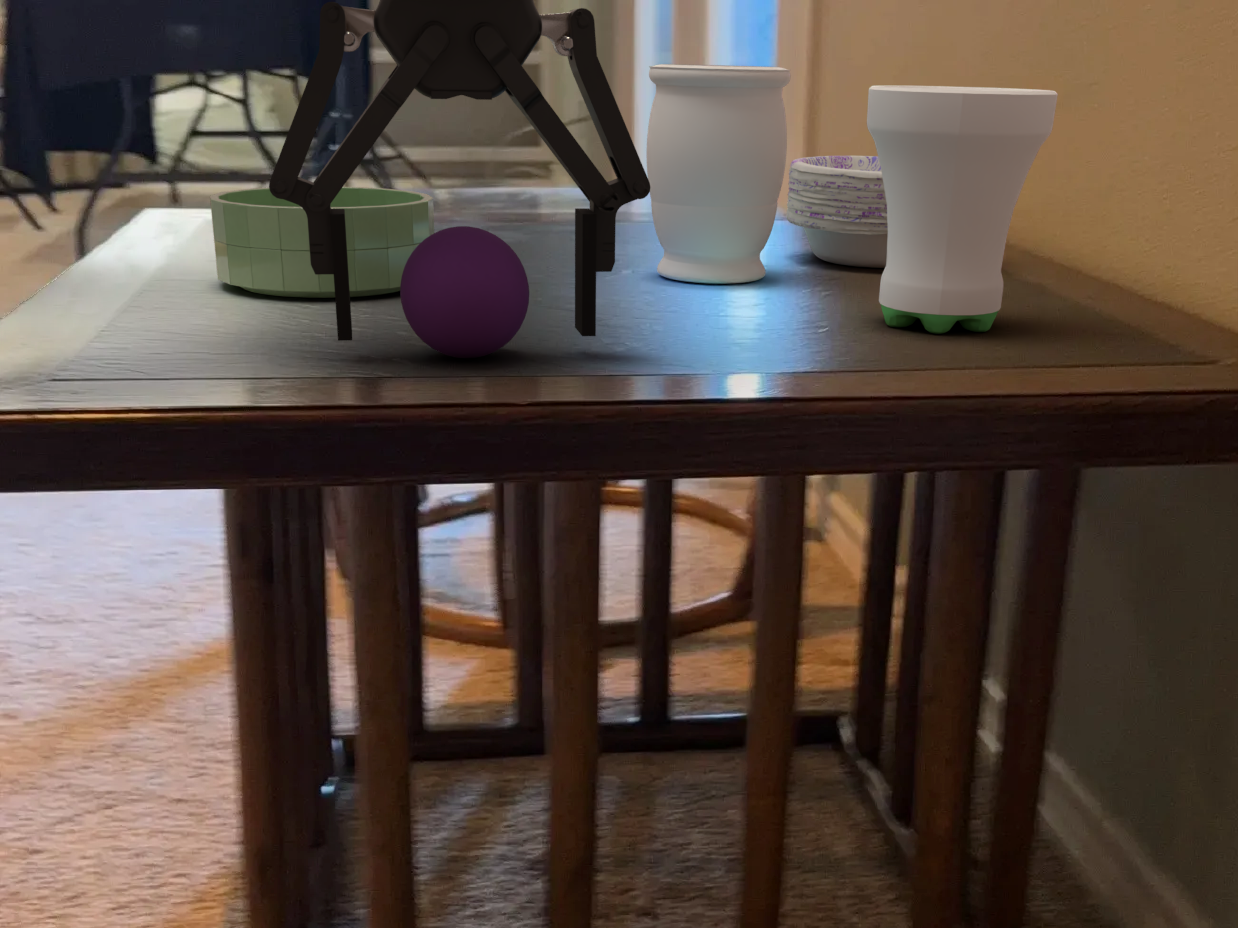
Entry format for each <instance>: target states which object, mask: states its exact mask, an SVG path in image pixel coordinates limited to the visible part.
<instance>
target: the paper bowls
mask: <svg viewBox="0 0 1238 928" xmlns="http://www.w3.org/2000/svg"><path fill="white" fill-rule="evenodd" d="M786 207H787V209H786V220H787V221H788V223H790V224H792V225H795V226H797V227H802V228H803V230H804V232H805V236H806V239H807V242H808V244H809V247H810V249H811V251H812V253H813V254H814V255H815V256H816V257H817V258H818V259H820V260H822V261H825V262H827V263H832V264H836V265H842V266H847V267H848V266H849V267H857V268H870V269H871V268H874V269H875V268H876V269H885V267H886V261H887V239H888V223H887V202H886V196H885V190H884V184H883V178H882V172H881V166H880V162H879V158H878V155H817V156H806V157H798V158H795V159H793V160H791V162H790V164H789V169H788V192H787V203H786Z"/></svg>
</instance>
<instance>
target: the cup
mask: <svg viewBox="0 0 1238 928" xmlns="http://www.w3.org/2000/svg"><path fill="white" fill-rule="evenodd" d="M1058 96H1059V94H1058V92H1056V90H1052V89H1034V88H1014V87H1013V88H1012V87H1011V88H1009V87H988V86H987V87H983V86H951V85H950V86H947V85H899V84H897V85H893V84H892V85H891V84H890V85H886V84H885V85H884V84H883V85H879V84H877V85H871V86H869V88H868V95H867V110H866V111H867V112H866V127H867V130H868V132H869V134H870V136H871V138H872V140H873V141H874V145H875V151H876V154H877V156H878V158H879V162H880V166H881V172H882V178H883V184H884V190H885V196H886V202H887V223H888V239H887V261H886V267H885V268H883V271H882V273H881V277H880V281H879V282H880V285H879V293H878V303H879V304H880V307H881V311H882V314H883V315H882V316H883V318H884V322H885V324H886V325H887V326H889V327H891V328H907V327H909V326H911V325H913V324H914V323H915V322H916V321H917V320H918V319H919V320H920V322H921V324H922V326H923V327H924V329H925V330H926V331H927V332H929V333H930V334H935V335H942V334H945V333H947V332H950V331H951V329H952V328H953V327H954V325H955V324H956V323H957V322H959V325H961V327H962V328H963V329H965V330H966V331H969V332H975V333H985V332H988V331H989V330H990V329H991V327H992V325H993V323H994V321H995V319H996V318H997V316H998V314H999V311H1000V310H1001V308H1002V301H1003V294H1004V278H1003V275H1002V274H1003V273H1002V267H1003V261H1004V256H1005V255H1004V254H1005V250H1006V244H1007V243H1006V242H1007V237H1008V234H1009V230H1010V226H1011V222H1012V217H1013V215H1014V210H1015V207H1016V205H1017V203H1018V199H1019V197H1020V195H1021V192H1022V190H1023V187H1024V184H1025V182H1026V179H1027V177H1028V175H1029V171H1030V170H1031V167H1032V166H1033V163H1034V162H1035V159H1036V157H1037V155H1038V153H1039V151H1040V149H1041V147H1042V146H1043V145H1044V144H1045V142H1046V141H1047V140H1048V138H1049V137H1050V135H1051V134H1052V131H1053V129H1054V128H1053V127H1054V121H1055V115H1056V109H1057V102H1058Z"/></svg>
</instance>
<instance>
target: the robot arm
mask: <svg viewBox="0 0 1238 928" xmlns="http://www.w3.org/2000/svg"><path fill="white" fill-rule="evenodd" d="M372 32H373V33H375V35H376V37H377V38H378V41H380V43H381V44H382V46H383V47H384V49H385V50H386V51H387V53H388V54H389V55H390V57H391V58H392V60H393V61H394V62H395V64H396V66H395V67H394V69H392V71H391V73H390V74H389V75H388V77H387V78H386V79H385V81H384V82H383V84H382V85H381V87H380V89H379V90H378V91H377V92H376V94H375V95H374V97H373V98H372V100H371V101H370V102H369V104H368V105H367V106H366V108H365V110H364V111H363V112H362V113H361V115H360V116H359V118H358V119H357V121H356V122H355V123H354V125H353V126H352V128H351V129H350V130H349V132H348V133H347V134H346V136H345V138H344V139H343V140H342V141H341V143H340V144H339V146H338V147H337V149H336V150H335V152H334V153H333V154H332V156H331V157H330V158H329V159H328V161H327V163H326V164H325V165H324V167H323V168H322V170H321V171H320V173H319V174H318V175H317V177H316V178H315V179H314V181H311V180H308V179H306V178H302V177H300V173H301V170H302V168H303V166H304V163H305V160H306V157H307V155H308V153H309V150H310V147H311V145H312V142H313V140H314V137H315V134H316V132H317V129H318V126H319V124H320V121H321V118H322V116H323V113H324V111H325V108H326V105H327V104H328V101H329V97H330V95H331V93H332V90H333V87H334V85H335V82H336V79H337V77H338V75H339V72H340V69H341V65H342V63H343V59H344V54H345V53H353V52H355V51H357V50H358V49H359V47H360V46H361V42H362V39H363V37H364V36H365V35H366V34H368V33H372ZM541 37H545V38H547V39H548V40H549V41H550V42H551V44H552V47H553V50H554V52H555V53H556V54H557V55H559V56H561V57H567V61H568V64H569V67H570V70H571V74H572V75H573V79H574V81H575V83H576V85H577V87H578V90H579V93H580V94H581V97H582V99H583V101H584V104H585V106H586V109H587V111H588V113H589V116H590V118H591V120H592V123H593V125H594V128H595V130H596V132H597V135H598V138H599V139H600V142H601V144H602V146H603V149H604V152H605V153H606V156H607V158H608V161H609V163H610V165H611V167H612V170H613V172H614V174H615V175H614V176H615V177H616V178H614V179H611V180H609V181H607V180H606V178H605V177H604V175H602V174H601V172H600V170H599V169H598V168H597V166H596V165H595V164H594V162H593V161H592V159H590V157H589V156H588V154H587V153H586V152H585V150H584V149H583V148H582V146H581V145H580V143H579V142H578V141H577V139H576V138H575V137H574V136H573V134H572V133H571V132H570V130H569V129H568V128H567V126H566V125H565V124H564V122H563V121H562V119H561V118H560V117H559V115H558V114H557V113H556V111H555V109H554V108H553V107H552V106H551V104H550V103H549V102H548V101H547V99H546V98H545V97H544V95H543V94H542V91H541V90H540V89H539V87H538V86H537V84H536V83H535V82H534V80H533V79H532V78H531V76H530V75H529V73H528V72H527V71H526V70H525V68H524V67H523V65H524V64H525V62H526V60H527V59H528V57H529V56H530V54H531V53H532V51H534V49H535V47H536V45H537V44H538V43H539V41H540V39H541ZM596 37H597V36H596V25H595V18H594V15H593V13H592V11H591V10H589V9H587V8H584V7H581V8H574V9H571V10H569V11H568V12H557V13H541V14H540V13H539V11H538V9H537V7H536V5H535V2H534V0H379V2H378V5H377V7H376V8H375V9H367V8H366V9H365V8H358V7H349V6H343V5H340V4H339V2H335V1H327V2H325V3H324V4H322V6H321V8H320V13H319V42H318V43H319V44H318V45H319V47H318V52H317V55H316V58H315V60H314V64H313V66H312V67H311V71H310V73H309V77H308V79H307V82H306V84H305V87H304V90H303V92H302V95H301V98H300V100H299V103H298V105H297V108H296V111H295V113H294V116H293V118H292V121H291V124H290V127H289V129H288V132H287V135H286V137H285V140H284V143H283V145H282V147H281V151H280V153H279V156H278V158H277V161H276V163H275V167H274V168H273V172H272V174H271V176H270V180H269V183H268V188H269V189H270V192H271V193H272V195H273V196H275V197H276V198H279V199H284V200H286V201H289V202H292V203H295V204H297V205H299V206H301V207H302V208H303V209H304V211H305V212H306V215H307V219H308V233H309V247H310V261H311V266H312V268H313V271H314V273H315V274H334V287H335V298H334V300H335V303H334V304H335V317H336V318H335V319H336V330H337V341H338V342H342V341H353V325H352V324H353V323H352V311H351V310H352V309H351V308H352V307H351V297H350V290H349V273H348V257H347V241H346V224H345V209H331V202H332V201H333V200H334V198H335V197H336V196H337V194H338V193H339V191H340V190H341V189H342V187H345V185H346V183H347V182H348V180H349V179H350V178H351V176H352V175H353V173H354V172H355V171H356V169H357V168H358V167H359V165H360V164H361V162H363V160H364V158H365V157H366V155H367V154H368V152H369V151H370V150H371V148H372V147H373V146H374V145H375V143H376V142H377V140H378V139H379V138H380V136H381V135H382V134H383V132H384V130H385V129H386V128H387V127H388V125H389V123H390V122H391V121H392V119H394V117H395V115H396V114H397V112H399V110H400V109H401V107H403V105H404V104H405V102H406V101H407V100H408V99H409V97H410V96H411V94H412V93H413V91H414V90H416V92H418V93H419V94H421V95H422V96H425V97H427V98H429V99H431V100H448V99H452V98H455V97H456V98H457V97H459V96H464V97H467V98H470V99H475V100H478V101H479V100H482V101H483V100H485V101H486V100H487V101H489V100H491V101H492V100H493V99H494V98H497V97H499V96H501V95H502V94H504V92H505V93H506V94H507V96H508V97H509V98H510V100H511V101H512V102H513V104H515V106H516V107H517V108H518V109H519V111H520V112H521V113H522V114H523V116H524V117H525V119H526V120H527V121H528V123H529V124H530V125H531V126H532V127H533V129H534V130H535V132H536V133H537V135H538V136H539V137H540V139H541V140H542V141H543V142H544V144H545V145H546V147H547V148H548V149H549V150H550V152H551V153H552V154H553V155H554V157H555V158H556V160H557V161H558V162H559V163H560V165H561V166H562V167H563V169H564V170H565V171H566V173H567V174H568V176H570V178H571V179H572V180H573V182H574V183H575V185H576V186H577V188H578V189H579V190H580V191H581V193H582V194H583V196H585V198H586V199H587V200H588V202H589V208H588V207H587V208H585V207H584V208H574V329H576V331H577V332H578V333H579V335H580V336H582V337H596V336H597V334H596V333H597V273H612V271H613V269H614V266H615V264H616V222H617V221H616V217H617V214H618V212H619V210H620V208H621V207H622V206H624V205H626V204H628V203H631V202H634V201H637V200H643V199H645V198H647V197H648V195H650V183H649V180H648V174H647V172H646V171H645V168H644V166H643V163H642V161H641V158H640V156H639V153H638V151H637V149H636V147H635V144H634V142H633V139H632V137H631V134H630V132H629V130H628V127H627V125H626V122H625V120H624V118H623V115H622V113H621V110H620V108H619V106H618V103H617V101H616V98H615V96H614V93H613V91H612V89H611V86H610V83H609V82H608V81H609V80H608V79H607V77H606V75H605V74H606V73H605V71H604V69H603V66H602V65H601V62H600V60H599V57H598V54H597V53H598V52H597V40H596V39H597V38H596ZM344 52H345V53H344Z"/></svg>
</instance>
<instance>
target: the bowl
mask: <svg viewBox="0 0 1238 928" xmlns="http://www.w3.org/2000/svg"><path fill="white" fill-rule="evenodd" d="M209 202H210V213H211V223H212V224H211V225H212V235H213V245H214V256H215V257H214V258H215V266H216V275H217V276H216V277H217V280H218V281H220V282H223V283H225V284H227V285H229V286H235V287H239V288H241V289H243V290H244V291H247V292H250V293H254V294H259V295H260V294H261V295H267V296H274V297H285V298H286V297H288V298H305V299H307V298H308V299H311V298H312V299H331V298H333V299H335V287H334V274H315V273H314V271H313V268H312V266H311V261H310V247H309V233H308V219H307V215H306V212H305V211H304V209H303V208H302V207H301V206H299V205H297V204H295V203H292V202H289V201H286V200H284V199H279V198H276V197H275V196H273V195H272V193H271V192H270V189H269V187H258V188H257V187H256V188H243V189H234V190H227V191H221V192H217V193H214V194H211V195H209ZM331 209H345V224H346V241H347V257H348V273H349V290H350V298H359V297H370V296H372V297H373V296H380V295H387V294H392V293H399V292H400V285H401V278H402V274H403V270H404V267H405V265H406V262H407V260H408V258H409V257H410V255H411V253H412V252H413V251H414V250H415V248H416V247H417V246H418V245H419V244H420V243H421V242H422V241H423V240H424V239H426V238H427V237H429V236H430V235H432V234H434V233H435V211H434V210H435V209H434V197H432V195H429V194H427V193H423V192H418V191H413V190H406V189H405V190H404V189H395V188H382V187H367V186H366V187H365V186H343V187H342V189H341V190H340V191H339V193H338V194H337V196H336V197H335V198H334V200H333V201H332V202H331Z"/></svg>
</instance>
